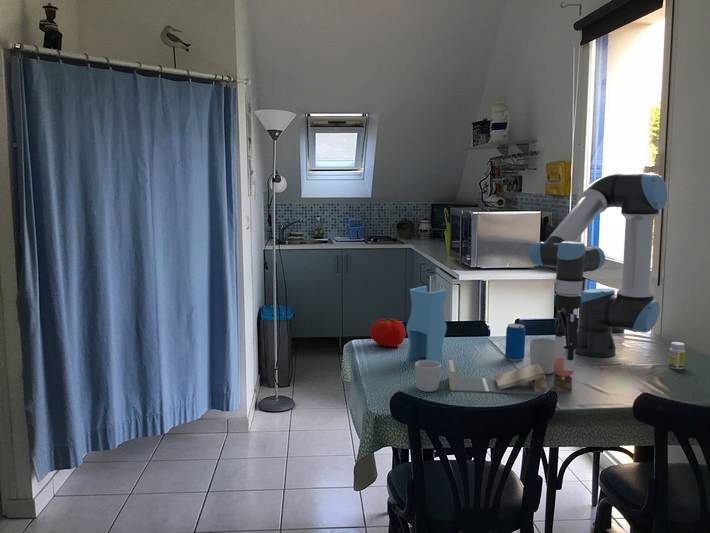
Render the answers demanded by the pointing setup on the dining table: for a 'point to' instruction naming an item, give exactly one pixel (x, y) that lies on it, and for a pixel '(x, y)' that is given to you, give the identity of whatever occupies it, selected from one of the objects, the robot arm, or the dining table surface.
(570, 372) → the ball
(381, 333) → the tomato
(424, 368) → the cup
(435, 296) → the vase
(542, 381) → the ramp
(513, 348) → the beverage can
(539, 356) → the mug
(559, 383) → the brown block with bumps
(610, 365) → the dining table surface
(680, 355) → the supplement bottle
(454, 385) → the runway
